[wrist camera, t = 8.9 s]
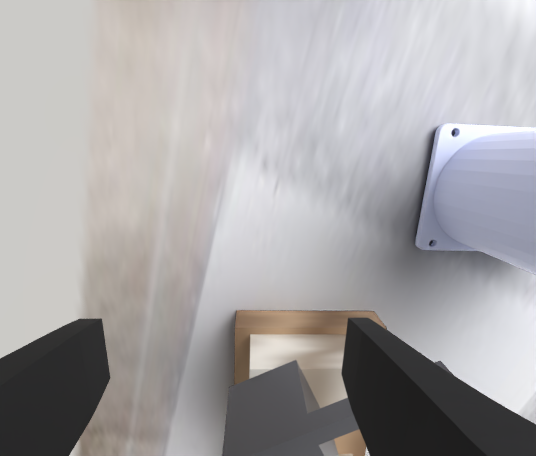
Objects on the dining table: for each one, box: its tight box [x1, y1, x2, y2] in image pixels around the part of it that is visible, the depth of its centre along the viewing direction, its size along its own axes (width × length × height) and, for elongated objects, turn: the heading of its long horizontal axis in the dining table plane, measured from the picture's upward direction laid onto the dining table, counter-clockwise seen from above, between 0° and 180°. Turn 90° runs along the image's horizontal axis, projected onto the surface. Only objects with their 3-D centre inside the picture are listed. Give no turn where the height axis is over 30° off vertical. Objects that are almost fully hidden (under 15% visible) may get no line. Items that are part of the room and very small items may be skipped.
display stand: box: [234, 310, 387, 456], centre depth 18 cm, size 10×15×7 cm, turn 178°
